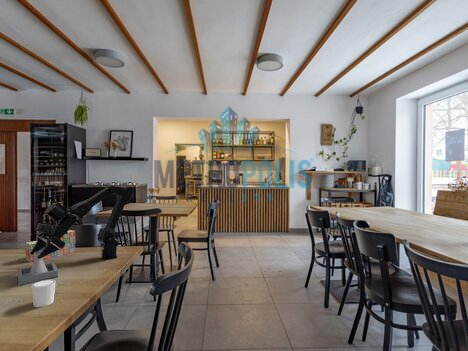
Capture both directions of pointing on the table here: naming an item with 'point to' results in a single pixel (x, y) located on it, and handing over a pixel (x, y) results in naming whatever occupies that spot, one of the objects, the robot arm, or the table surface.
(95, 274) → the table surface
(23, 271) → the tray
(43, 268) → the light grey vase
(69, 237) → the stack of blocks
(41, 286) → the white cup
